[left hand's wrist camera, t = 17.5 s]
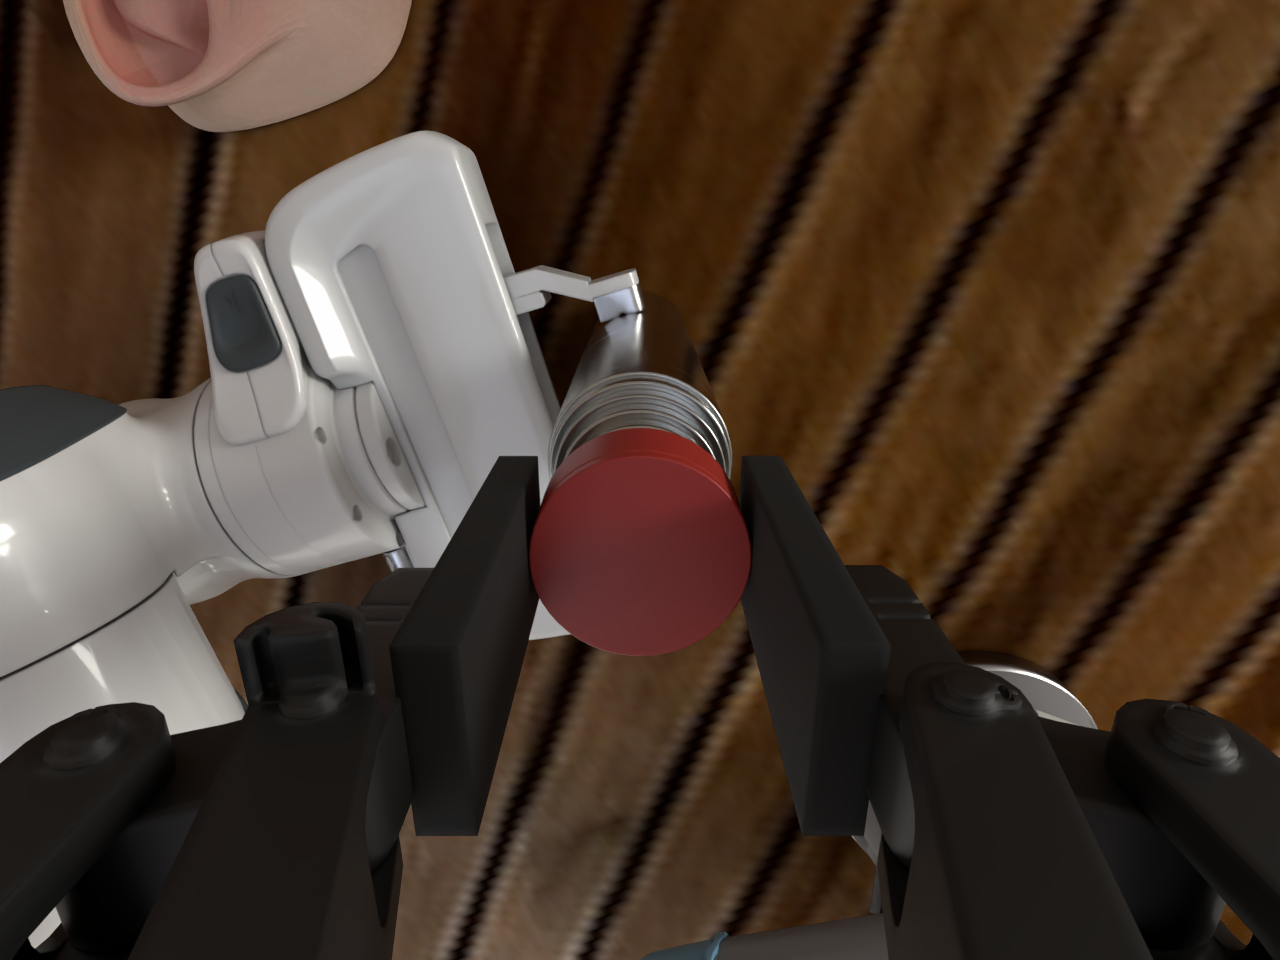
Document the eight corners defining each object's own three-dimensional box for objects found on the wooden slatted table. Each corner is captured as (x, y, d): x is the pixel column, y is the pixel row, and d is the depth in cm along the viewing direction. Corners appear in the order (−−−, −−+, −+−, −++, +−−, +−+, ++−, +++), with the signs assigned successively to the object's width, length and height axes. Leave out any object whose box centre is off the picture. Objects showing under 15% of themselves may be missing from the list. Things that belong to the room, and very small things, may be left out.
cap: (775, 481, 14) (794, 517, 12) (680, 635, 15) (684, 687, 14) (594, 390, 13) (588, 416, 12) (509, 559, 15) (493, 603, 13)
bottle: (587, 379, 35) (507, 639, 14) (598, 285, 34) (526, 412, 12) (679, 392, 35) (739, 666, 14) (694, 298, 34) (788, 447, 12)
